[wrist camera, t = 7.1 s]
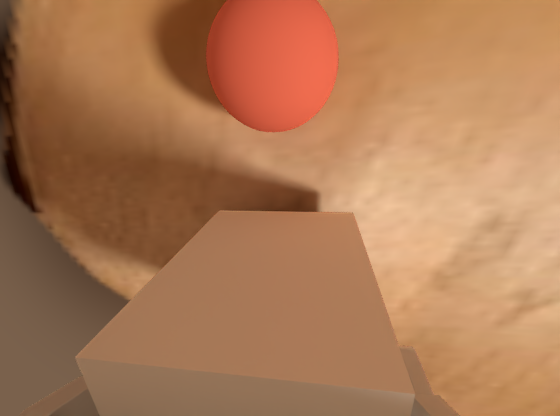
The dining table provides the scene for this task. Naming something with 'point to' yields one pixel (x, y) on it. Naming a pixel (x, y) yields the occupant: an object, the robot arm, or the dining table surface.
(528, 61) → the dining table surface
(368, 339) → the beige tapered block
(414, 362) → the robot arm
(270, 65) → the ball
